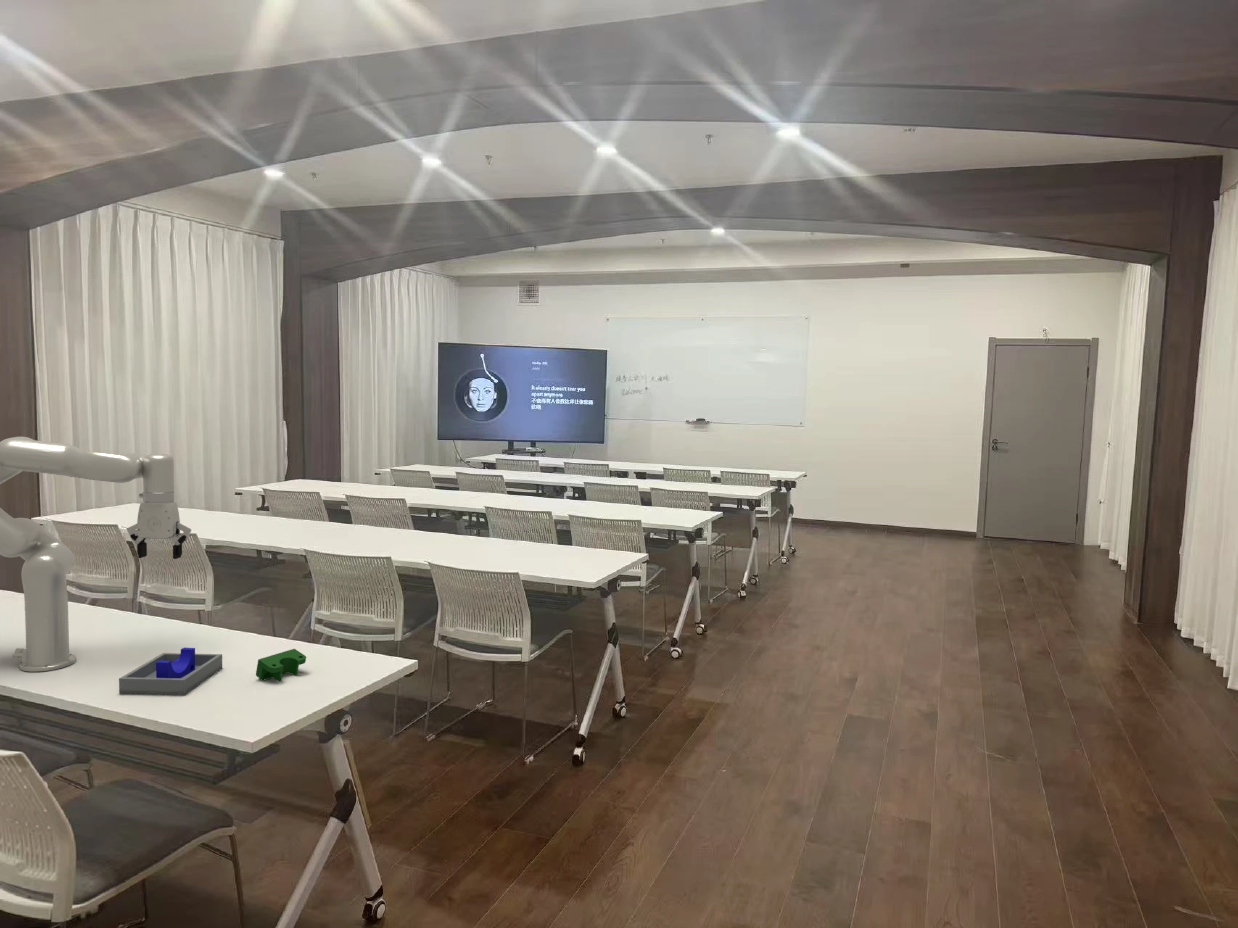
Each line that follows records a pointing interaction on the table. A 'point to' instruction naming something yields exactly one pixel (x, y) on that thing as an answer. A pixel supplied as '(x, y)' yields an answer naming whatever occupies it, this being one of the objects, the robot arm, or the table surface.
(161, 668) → the blue long angular piece
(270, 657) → the clamp
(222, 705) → the table surface
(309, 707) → the table surface
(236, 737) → the table surface
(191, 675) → the gray tray
